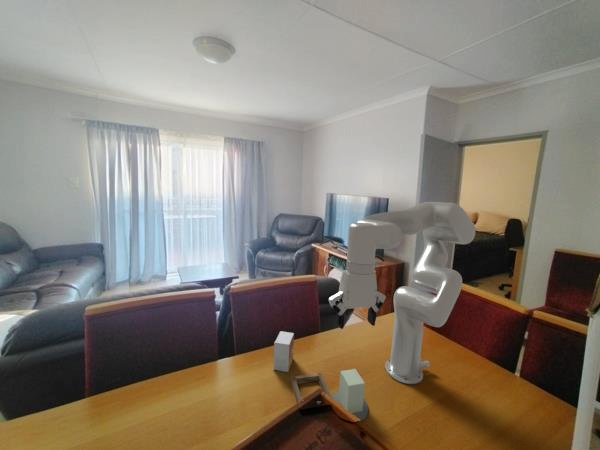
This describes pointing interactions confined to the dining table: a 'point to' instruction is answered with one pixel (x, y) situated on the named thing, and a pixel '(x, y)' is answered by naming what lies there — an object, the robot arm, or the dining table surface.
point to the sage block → (351, 390)
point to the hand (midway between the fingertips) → (355, 324)
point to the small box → (283, 351)
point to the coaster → (359, 415)
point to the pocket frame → (306, 379)
